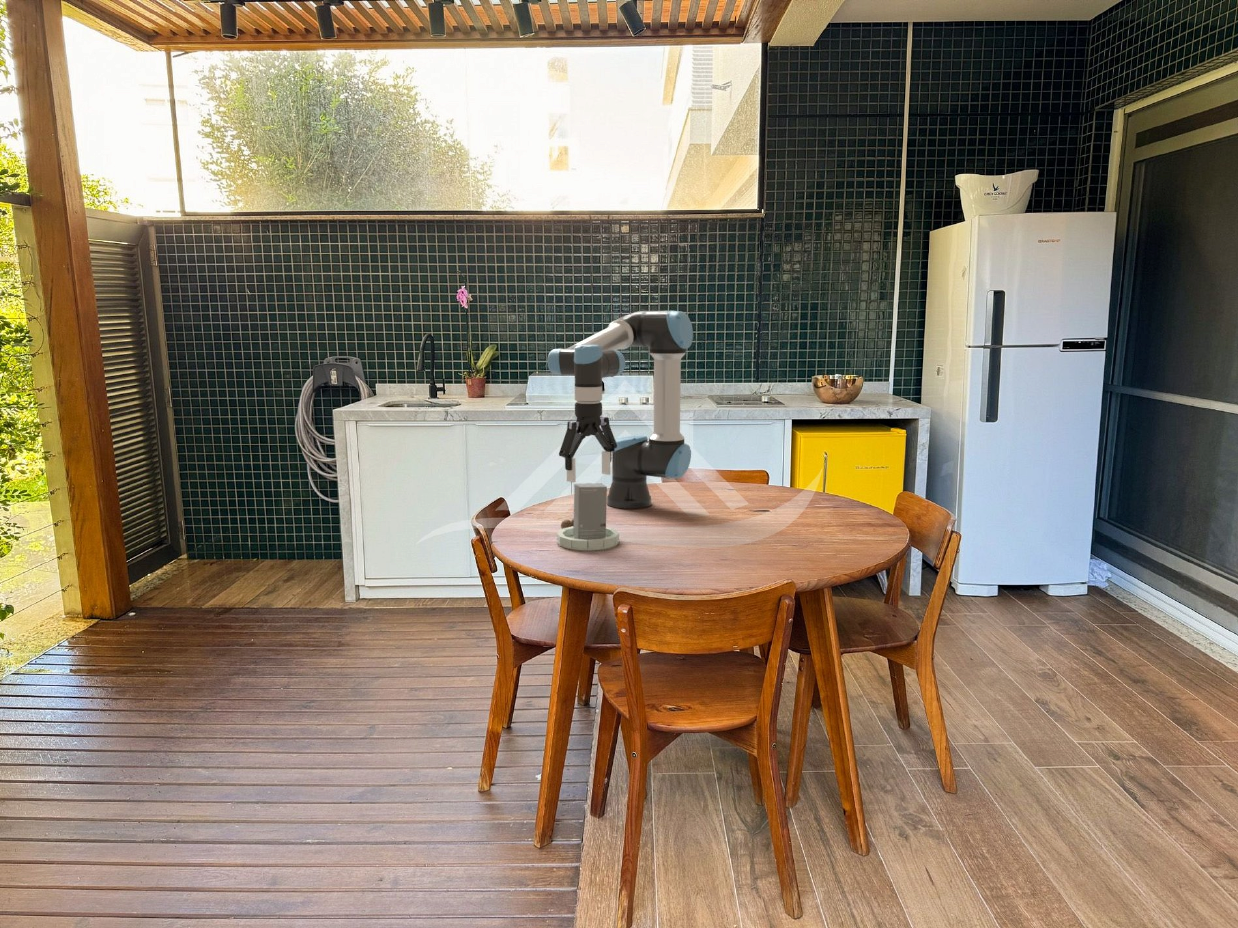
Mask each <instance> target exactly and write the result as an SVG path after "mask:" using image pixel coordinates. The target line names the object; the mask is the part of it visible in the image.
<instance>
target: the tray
mask: <svg viewBox="0 0 1238 928" xmlns="http://www.w3.org/2000/svg"><path fill="white" fill-rule="evenodd" d="M573 530H574V526H572V527H568V528H564V529H562V528H560V529H559V530H558V531H557V532H556V540H557V544H558V546H559V547H561V548H563V549H567V550H572V551H581V552H593V551H595V552H597V551H598V552H599V551H604V550H609V549H612V548H615V547H616V546H618V544H619V541H620V532H619V530H616V529H615V528H613V527H608V526H606V538H603V539H592V540H584V539H575V538H574V537H573Z"/></svg>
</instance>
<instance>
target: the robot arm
mask: <svg viewBox="0 0 1238 928" xmlns="http://www.w3.org/2000/svg"><path fill="white" fill-rule="evenodd" d="M693 335H694V332H693V325H692V322H691V320H690V317H689V316H688V314H686V313H685V312H684V311H681V310H679V311H678V310H638V311H634V312H631V313H629V314H626V315H623V316H621V317H619V318H617V319H615V320H613V321H611V322H610V323H609V324H608V326H607V327H606V328H605V329H602V330H600V331H598V332H596V333H594V334H593V335H590V336H589V337H586V338H585V339H582V340H581V341H579V342H577V343H575V344H573V345H571V346H569V347H567V348H562V347H561V348H554V349H553V348H552V350H550V352H549V353H548V356H547V361H546V362H547V367H548V370H549V372H550V373H551V374H554V375H558V376H572V377H573V376H574V400H575V401H576V402H575V403H574V415H575V417H576V421H571V420H568V421H567V422H566V423H567V427H566V430H565V435H564V438H563V440H562V443H561V446H560V449H559V452H558V456H559V457H562V458H564V468H565V471H566V481H567V482H569V483H576V481H577V480H576V478H577V477H576V476H577V475H576V470H577V469H576V458H574V456H575V454H576V453H577V450H578V449H579V447H581V446H580V445H581V444H582V442H583V440H584V439H585V438H586V437H590V436H594V437H595V438H596V440H597V441H598V443H599V444H600V446H601V448H602V449H603V450H601V475H607V476H611V475H612V479H611V481H612V482H611V484H610V488H609V492H608V494H607V505H608V506H609V507H612V508H616V509H625V510H626V509H627V510H628V509H631V510H634V509H636V510H637V509H643V508H648V507H651V506H652V496H651V495H650V491H649V486H648V483H647V477H653V478H654V477H656V478H664V479H666V480H670V479H673V480H674V479H675V480H676V479H681V478H683V476H685V475H686V473H687V472H688V470H689V467H690V464H691V458H692V450H691V447H690V445H689V444H687V443H685V436H684V435H683V434H682V433H681V380H682V379H681V377H682V376H681V375H682V374H681V371H682V370H681V369H682V368H681V367H682V361H681V360H682V358H683V357H684V356H685V355H686V353H687V350H686V349H689V348H690V347H691V346H692V343H693V339H694V336H693ZM630 347H631V348H632V347H634V348H635V347H639V348H649V351H648V353H649V355H650V356H651V357H652V359H653V360H654V361H653V432H652V433H651V435H649V436H647V435H631V436H623V437H619V438H616V439H615V436H614V433H613V430H612V429H611V425H610V418H609V417H607V416H602V415H603V403H602V400H603V378H614V377H615V376H619V375H621V374H622V373H623V371H624V370H625V367H626V358H625V356H624V354H623V353H622V352H621V351H619V350H626V349H628V348H630ZM611 465H612V466H611ZM611 470H612V471H611ZM611 472H612V473H611Z"/></svg>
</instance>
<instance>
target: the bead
mask: <svg viewBox="0 0 1238 928" xmlns="http://www.w3.org/2000/svg"><path fill="white" fill-rule="evenodd" d="M571 521H572V520H570V519H564V520H563V521H561V523H560V529H564V528H568V527H572V526H573V523H572V522H571Z"/></svg>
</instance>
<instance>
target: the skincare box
mask: <svg viewBox="0 0 1238 928" xmlns="http://www.w3.org/2000/svg"><path fill="white" fill-rule="evenodd" d="M573 487H574V488H573V491H574V492H573V496H574V497H573V518H574V530H573V537H574V538H575V539H584V540H592V539H603V538H606V527H607V496H608V487H607V485H605V484H603V483H591V482H590V483H589V482H587V483H586V482H585V483H583V482H582V483H574V484H573Z"/></svg>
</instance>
